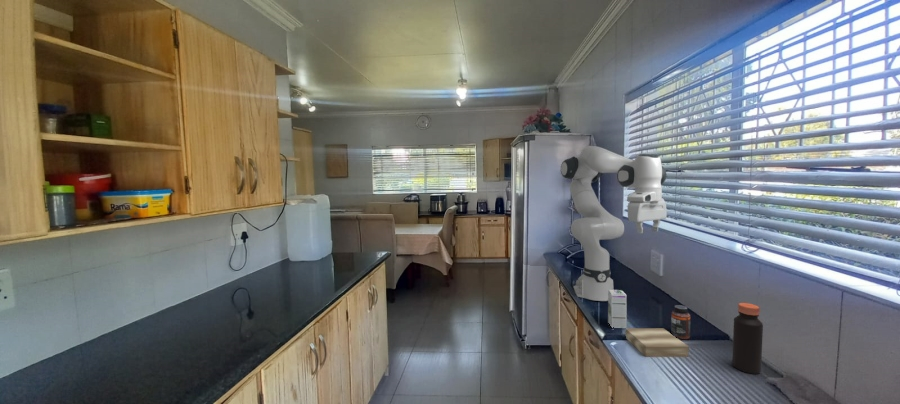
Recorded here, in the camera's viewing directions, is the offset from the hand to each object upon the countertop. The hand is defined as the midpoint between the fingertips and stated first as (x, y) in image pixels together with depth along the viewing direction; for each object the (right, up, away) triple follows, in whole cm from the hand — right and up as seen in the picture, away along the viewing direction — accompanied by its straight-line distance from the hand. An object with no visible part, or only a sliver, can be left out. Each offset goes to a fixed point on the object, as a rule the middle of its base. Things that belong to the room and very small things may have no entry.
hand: (647, 232), depth 130 cm
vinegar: (+16, -40, -24) cm, 50 cm away
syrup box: (-9, -39, +6) cm, 40 cm away
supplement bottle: (+11, -39, -2) cm, 41 cm away
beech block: (-3, -40, -10) cm, 41 cm away
